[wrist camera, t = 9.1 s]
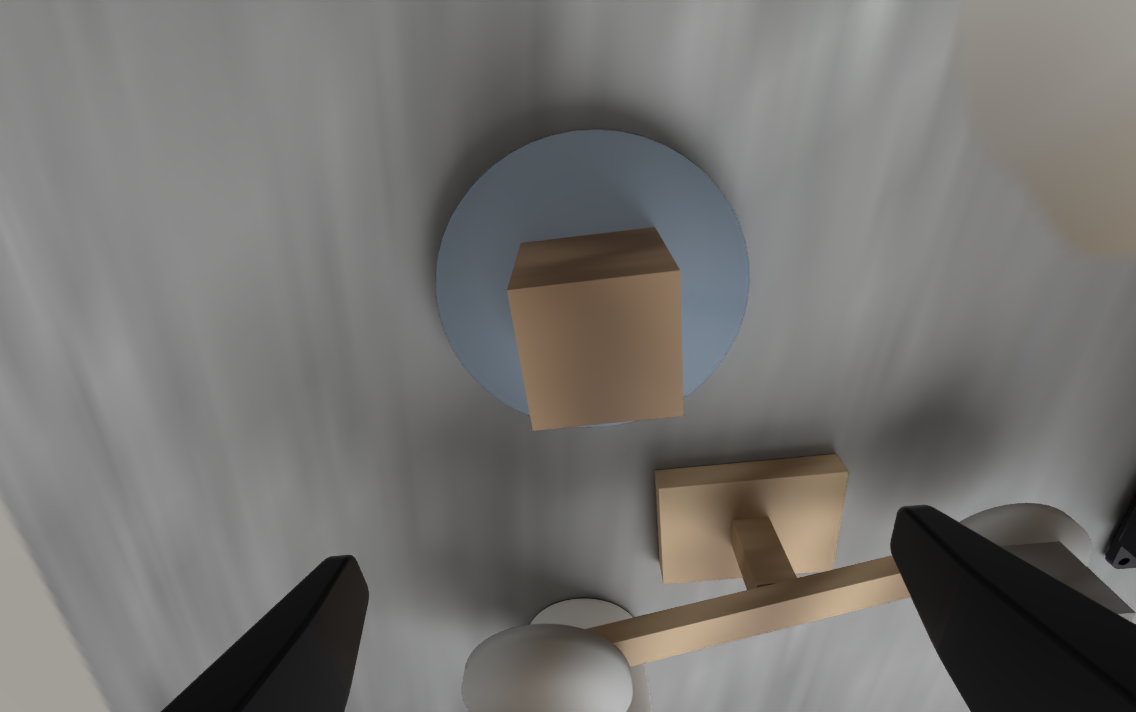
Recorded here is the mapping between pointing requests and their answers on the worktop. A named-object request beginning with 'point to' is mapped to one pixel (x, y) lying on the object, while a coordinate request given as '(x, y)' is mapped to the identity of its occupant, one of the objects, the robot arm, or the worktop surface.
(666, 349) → the block
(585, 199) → the dish
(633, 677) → the mug
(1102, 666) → the robot arm
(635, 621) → the balance
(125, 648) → the worktop surface
